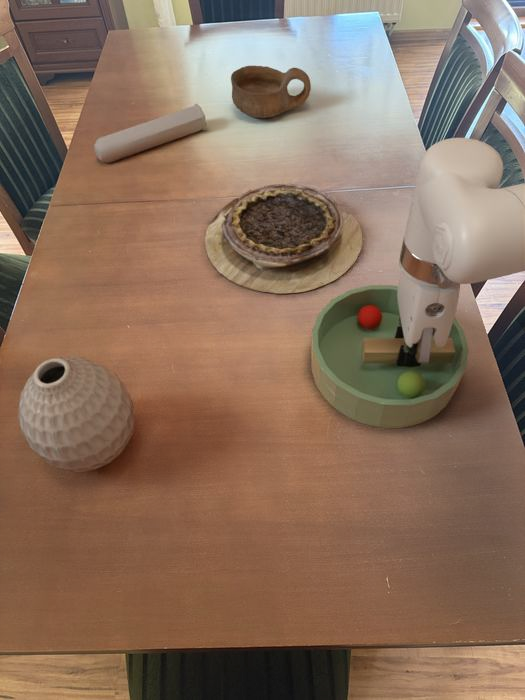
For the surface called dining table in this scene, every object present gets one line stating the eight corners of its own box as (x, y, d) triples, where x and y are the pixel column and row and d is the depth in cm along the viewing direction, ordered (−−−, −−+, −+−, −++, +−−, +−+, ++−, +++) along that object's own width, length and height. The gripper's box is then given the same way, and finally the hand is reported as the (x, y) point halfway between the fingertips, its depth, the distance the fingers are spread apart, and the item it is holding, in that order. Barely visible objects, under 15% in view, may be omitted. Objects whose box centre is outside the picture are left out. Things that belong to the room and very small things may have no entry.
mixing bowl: (470, 429, 67) (484, 405, 62) (313, 427, 68) (314, 404, 63) (442, 311, 79) (452, 284, 75) (309, 312, 81) (310, 285, 76)
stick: (451, 363, 70) (455, 352, 68) (362, 363, 71) (364, 352, 69) (447, 349, 71) (451, 337, 69) (361, 349, 72) (363, 338, 70)
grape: (394, 399, 70) (419, 406, 67) (391, 379, 67) (417, 386, 65) (405, 382, 72) (430, 389, 69) (403, 362, 69) (429, 369, 67)
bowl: (298, 81, 125) (302, 43, 115) (313, 124, 120) (318, 88, 110) (226, 92, 123) (225, 54, 113) (239, 136, 118) (238, 100, 108)
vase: (150, 400, 72) (119, 323, 59) (139, 487, 64) (99, 421, 51) (60, 404, 72) (9, 328, 59) (38, 491, 64) (-27, 426, 51)
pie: (391, 254, 88) (396, 231, 84) (254, 319, 80) (252, 297, 76) (302, 176, 103) (302, 153, 99) (180, 224, 95) (175, 202, 91)
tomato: (381, 334, 76) (385, 318, 73) (357, 334, 76) (359, 318, 74) (379, 316, 78) (382, 299, 76) (355, 316, 79) (358, 300, 76)
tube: (98, 153, 104) (206, 115, 111) (87, 135, 106) (195, 98, 112) (103, 171, 109) (206, 134, 116) (92, 153, 111) (195, 117, 117)
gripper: (487, 308, 51) (444, 405, 66) (455, 208, 61) (424, 311, 76) (411, 308, 52) (385, 404, 66) (392, 209, 61) (373, 312, 76)
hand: (406, 354), depth 71 cm, fingers closed on stick, 2 cm apart
